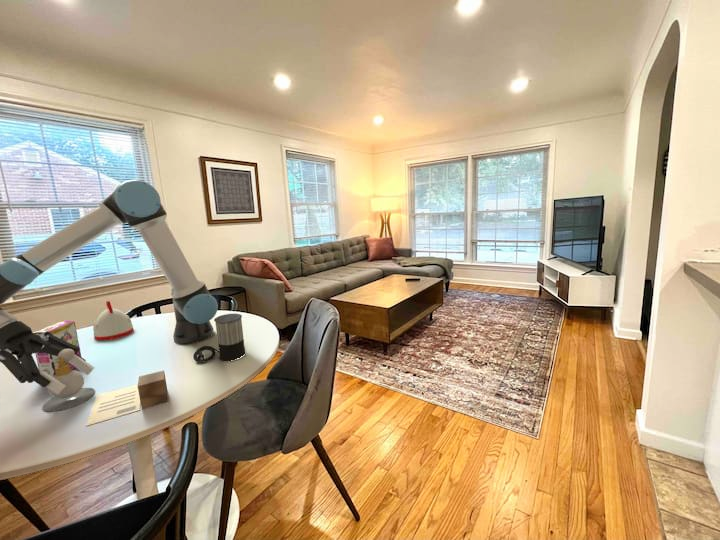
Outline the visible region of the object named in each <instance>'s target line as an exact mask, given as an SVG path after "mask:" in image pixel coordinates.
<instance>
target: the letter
mask: <svg viewBox="0 0 720 540" xmlns="http://www.w3.org/2000/svg"><path fill="white" fill-rule="evenodd" d="M140 409H141V402H140V397H139V391H138V384H134V385H131V386H127V387H122V388H119V389H116V390H115V389H114V390H111V391H107V392H104V393H100V394H97V396H96V398H95V401H94V404H93V406H92V409H91V411H90V414H89V416H88V418H87V422H86V425H85V427H89V426H92V425H95V424H98V423H102V422H105V421H109V420H111V419H115V418H119V417H122V416H125V415H129V414H132V413H135V412H139V411H140Z"/></svg>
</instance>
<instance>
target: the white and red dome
mask: <svg viewBox="0 0 720 540" xmlns="http://www.w3.org/2000/svg"><path fill="white" fill-rule="evenodd" d="M106 307H107V308H106V309H105V310H103V311H102V312H101V313H100V315H99V316H98V317H97V319H96V321H93V328H92V329H93V330H92V331H93V339H94V340H95V341H109V340H115V339H119V338H122V337H125V336H128V335H130V334H132V333H133V332H134V325H133V323H132V319H131V318H130V316H129V315H128V314H126V313H124V312H123V311H122V310H120V309H118V308H114V307H113V308H112V305H111V301H109V300H108V301H106Z"/></svg>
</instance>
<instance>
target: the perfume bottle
mask: <svg viewBox="0 0 720 540" xmlns="http://www.w3.org/2000/svg"><path fill="white" fill-rule="evenodd" d="M74 355H75V352H74V351H73V350H72V349H64V350H62V351H61V352H60V353H59V354H58V360H59V361H58V364H59V365H58V366H56V367H55V371H56V374H55V375H54V376H53V377H54V378H55V379H57V380H58V381H60V382H61V383H62V384H64V385H65V386H66V387H65V388H64V389H63V390H62V392H61V393H59V394H56V393H55V392H53V391H52V390H50V389H49V388H47V392H48V394H49V395H50V396H51V397H52V398H53V397H56V398H67V397H70V396H72V395H74V394H76V393H77V392H78V391H80V389H81V388H84V384H85V378H84V375H83V374H82V373H81V371H77V370H76V369H74V370H71V369H70V367H69V364H68V363H66V364H64V363H63V362H68V361H70V360H71V359H72V358H73V357H74Z"/></svg>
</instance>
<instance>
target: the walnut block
mask: <svg viewBox="0 0 720 540" xmlns="http://www.w3.org/2000/svg"><path fill="white" fill-rule="evenodd" d="M137 380H138V381H137V383H138V384H137V385H138V391H139V397H140V402H141V404H140V408H141V410H142V411H144V410H146V409H150V408H153V407H156V406H160V405H162V404H163V405H164V404H166V403H169V392H168V385H167V379H166V374H165V370H159V371H155V372H151V373H148V374H144V375H140V376H138V379H137Z"/></svg>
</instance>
